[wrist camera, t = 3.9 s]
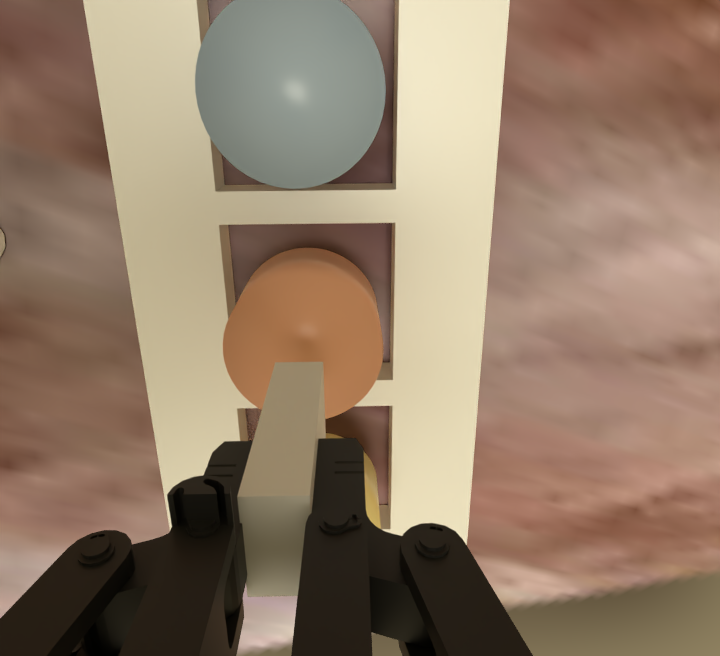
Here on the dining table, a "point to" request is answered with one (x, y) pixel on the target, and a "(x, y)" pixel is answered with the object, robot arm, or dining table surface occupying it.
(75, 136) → the dining table surface
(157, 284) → the panel
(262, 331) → the terracotta button
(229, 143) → the slate-blue button
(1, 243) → the beige tall tapered piece
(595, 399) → the dining table surface
